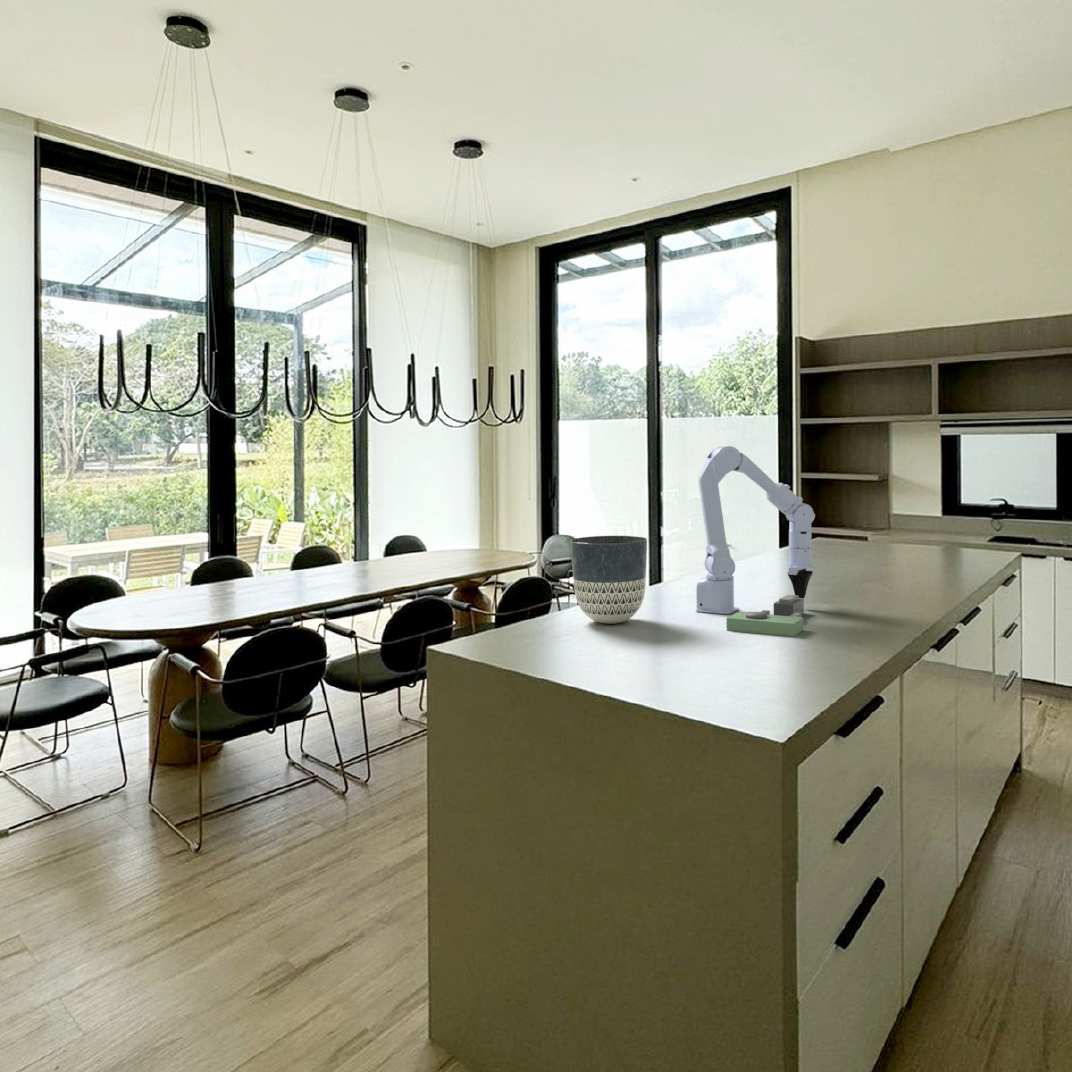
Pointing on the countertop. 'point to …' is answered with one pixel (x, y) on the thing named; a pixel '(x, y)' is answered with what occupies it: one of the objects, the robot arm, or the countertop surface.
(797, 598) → the stepped grey block
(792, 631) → the deck
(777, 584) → the countertop surface
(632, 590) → the planter
